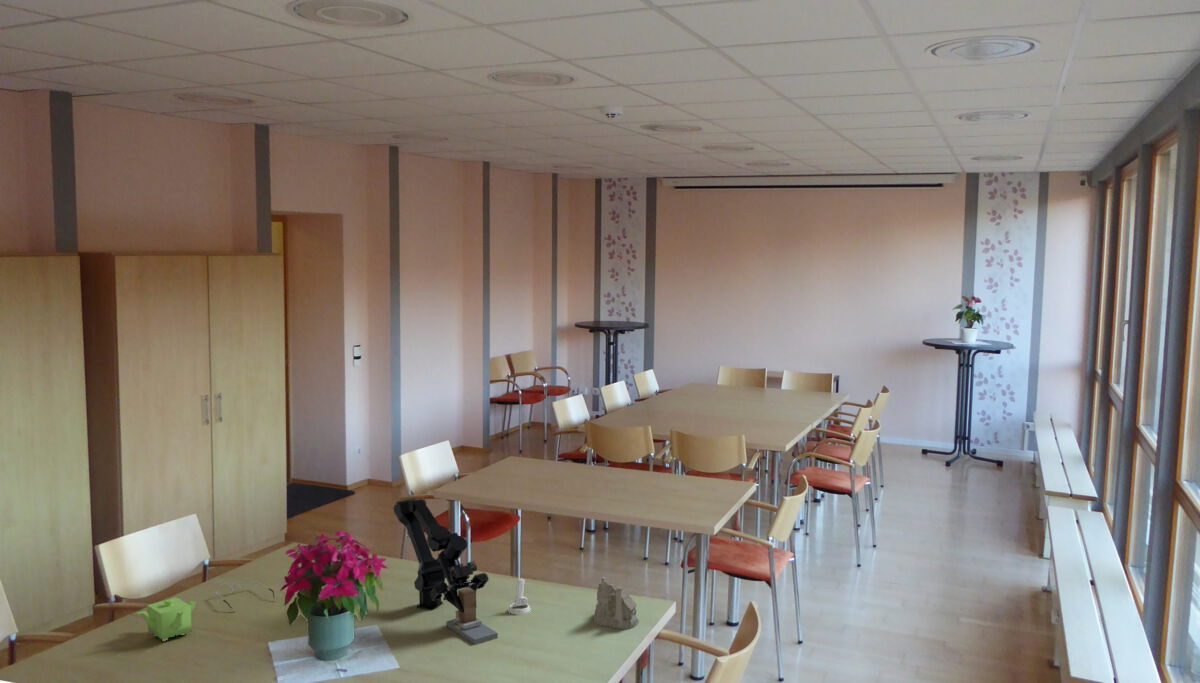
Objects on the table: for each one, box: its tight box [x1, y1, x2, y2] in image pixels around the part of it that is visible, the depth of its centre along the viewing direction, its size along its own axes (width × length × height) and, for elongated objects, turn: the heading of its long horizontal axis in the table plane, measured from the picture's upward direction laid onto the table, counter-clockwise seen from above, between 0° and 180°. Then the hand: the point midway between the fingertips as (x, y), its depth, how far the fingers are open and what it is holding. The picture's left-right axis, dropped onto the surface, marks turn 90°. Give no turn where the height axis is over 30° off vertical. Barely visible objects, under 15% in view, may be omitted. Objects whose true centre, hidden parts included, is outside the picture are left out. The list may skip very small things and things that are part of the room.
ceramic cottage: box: [593, 576, 640, 630], centre depth 297 cm, size 16×16×15 cm
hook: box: [507, 578, 532, 615], centre depth 306 cm, size 8×12×7 cm
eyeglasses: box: [214, 577, 275, 609], centre depth 316 cm, size 16×19×5 cm
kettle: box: [136, 597, 197, 640], centre depth 286 cm, size 15×14×11 cm
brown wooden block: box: [453, 588, 482, 629], centre depth 289 cm, size 7×6×11 cm
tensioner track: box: [445, 609, 499, 645], centre depth 287 cm, size 18×8×4 cm, turn 38°
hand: (469, 610), depth 288 cm, fingers closed on brown wooden block, 4 cm apart
